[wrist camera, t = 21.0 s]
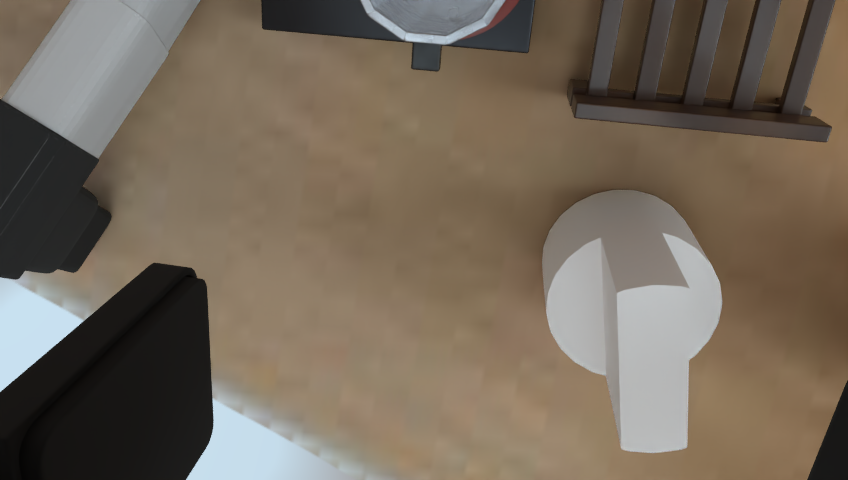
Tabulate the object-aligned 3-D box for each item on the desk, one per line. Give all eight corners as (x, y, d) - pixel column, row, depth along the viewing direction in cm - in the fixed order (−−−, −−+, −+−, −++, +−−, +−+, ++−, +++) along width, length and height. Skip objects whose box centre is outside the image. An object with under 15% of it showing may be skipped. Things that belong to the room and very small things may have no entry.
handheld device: (25, 245, 44) (-121, 242, 29) (215, -36, 46) (169, -172, 31) (81, 277, 44) (-35, 291, 30) (267, -2, 47) (245, -120, 32)
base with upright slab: (536, 196, 41) (545, 291, 30) (696, 182, 39) (765, 277, 29) (546, 327, 44) (557, 455, 33) (693, 319, 43) (754, 450, 32)
